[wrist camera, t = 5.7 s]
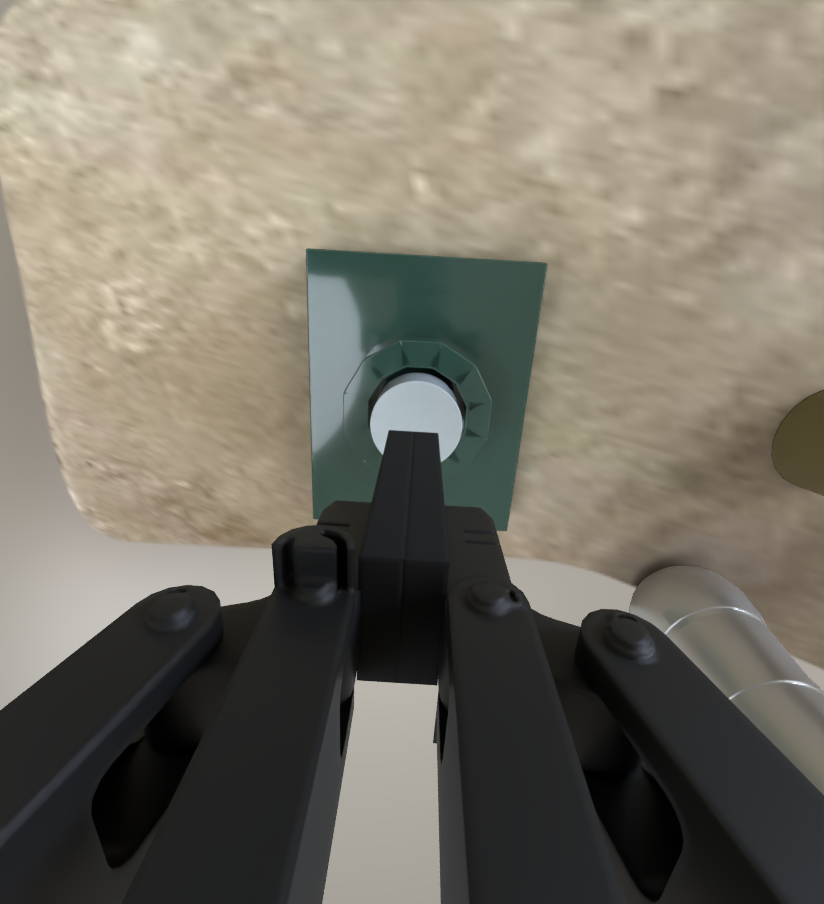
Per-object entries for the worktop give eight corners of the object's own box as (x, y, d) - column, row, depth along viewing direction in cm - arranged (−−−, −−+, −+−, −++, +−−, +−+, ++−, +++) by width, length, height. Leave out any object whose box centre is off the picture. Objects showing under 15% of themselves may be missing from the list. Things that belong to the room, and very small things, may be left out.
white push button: (376, 369, 20) (370, 378, 18) (462, 374, 20) (467, 383, 18) (374, 450, 22) (369, 466, 20) (454, 455, 22) (457, 472, 20)
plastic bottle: (687, 645, 30) (1124, 1244, 11) (597, 615, 29) (904, 1200, 11) (744, 570, 28) (1405, 1162, 9) (649, 537, 27) (1149, 1100, 8)
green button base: (315, 251, 22) (293, 244, 18) (537, 264, 22) (560, 260, 18) (320, 503, 27) (303, 538, 23) (501, 514, 27) (513, 551, 23)
